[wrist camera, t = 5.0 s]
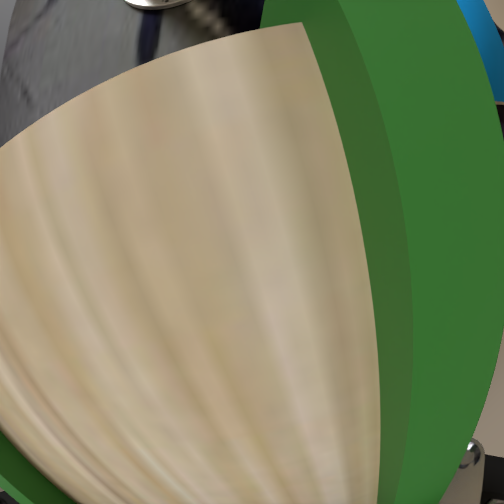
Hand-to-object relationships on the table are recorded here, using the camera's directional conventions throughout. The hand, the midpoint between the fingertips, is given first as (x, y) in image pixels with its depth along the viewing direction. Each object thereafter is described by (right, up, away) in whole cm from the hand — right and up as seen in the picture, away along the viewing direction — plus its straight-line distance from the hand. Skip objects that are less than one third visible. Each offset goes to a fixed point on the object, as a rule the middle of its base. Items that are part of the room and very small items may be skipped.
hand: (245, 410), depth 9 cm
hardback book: (-1, +5, +18) cm, 18 cm away
